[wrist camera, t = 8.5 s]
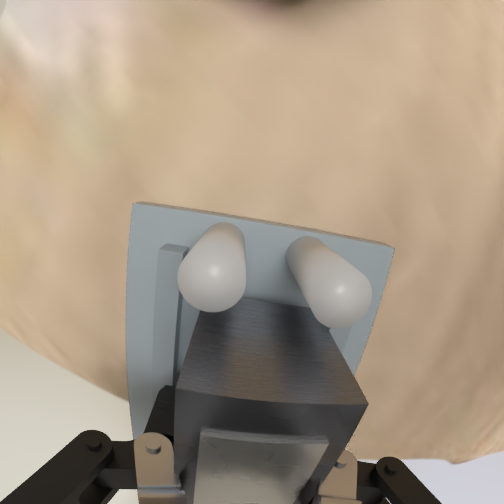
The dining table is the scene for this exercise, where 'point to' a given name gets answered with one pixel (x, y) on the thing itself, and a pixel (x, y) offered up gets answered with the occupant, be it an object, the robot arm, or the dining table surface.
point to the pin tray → (256, 283)
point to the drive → (261, 406)
